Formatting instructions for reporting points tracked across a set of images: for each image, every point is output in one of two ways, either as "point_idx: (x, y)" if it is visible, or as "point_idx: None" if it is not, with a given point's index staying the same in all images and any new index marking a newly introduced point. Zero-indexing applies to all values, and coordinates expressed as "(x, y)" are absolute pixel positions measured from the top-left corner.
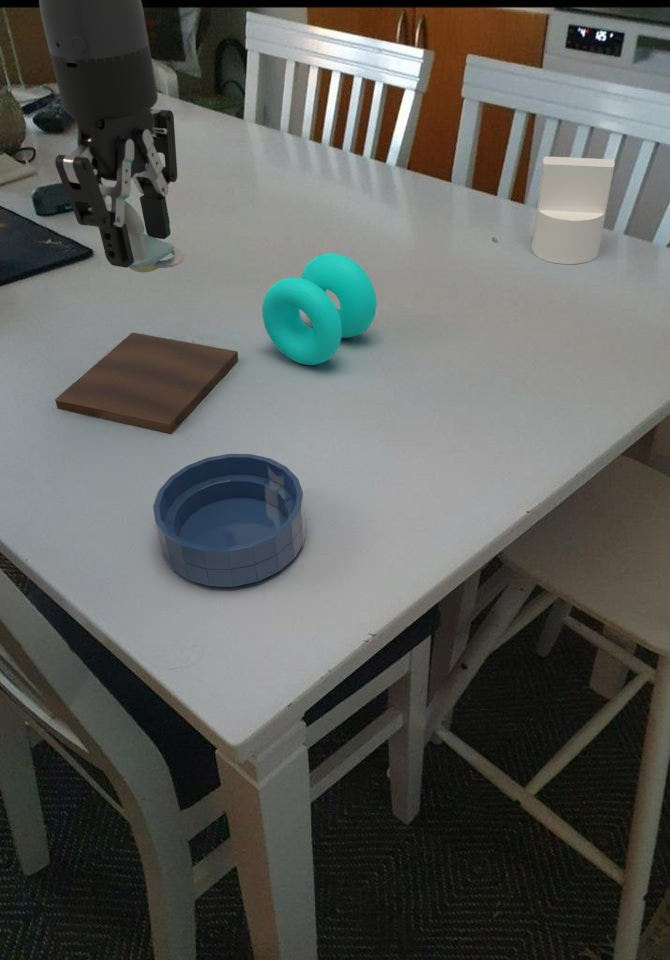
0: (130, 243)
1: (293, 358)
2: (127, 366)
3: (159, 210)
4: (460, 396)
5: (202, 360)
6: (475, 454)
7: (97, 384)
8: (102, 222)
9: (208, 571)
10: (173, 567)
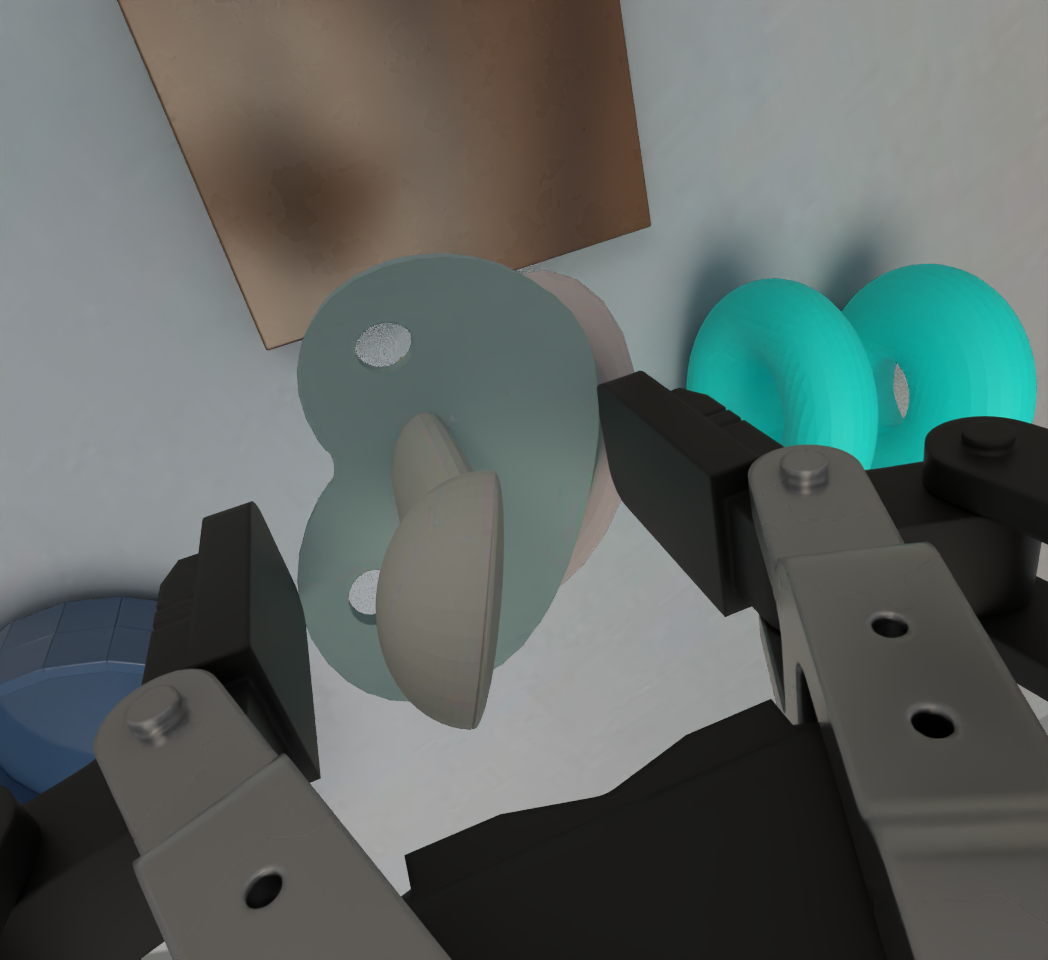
0: (402, 512)
1: (688, 373)
2: None
3: (687, 559)
4: (720, 673)
5: (563, 171)
6: (584, 783)
7: None
8: None
9: None
10: None
